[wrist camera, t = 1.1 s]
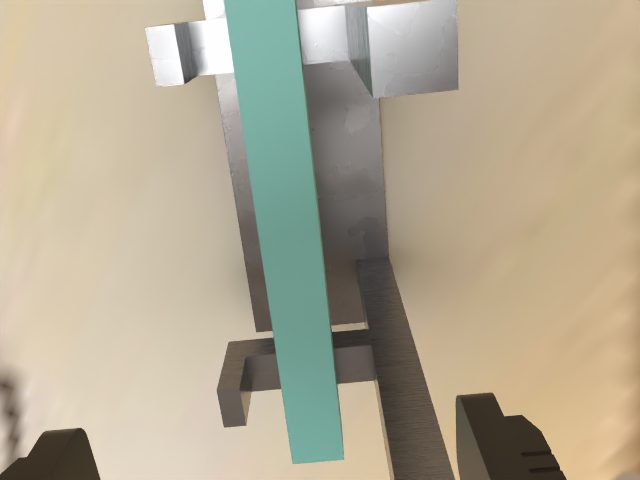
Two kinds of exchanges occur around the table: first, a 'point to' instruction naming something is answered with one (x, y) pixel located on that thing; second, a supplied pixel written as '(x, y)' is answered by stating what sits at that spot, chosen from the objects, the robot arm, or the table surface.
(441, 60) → the hook rack
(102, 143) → the table surface
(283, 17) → the teal rail
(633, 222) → the table surface
